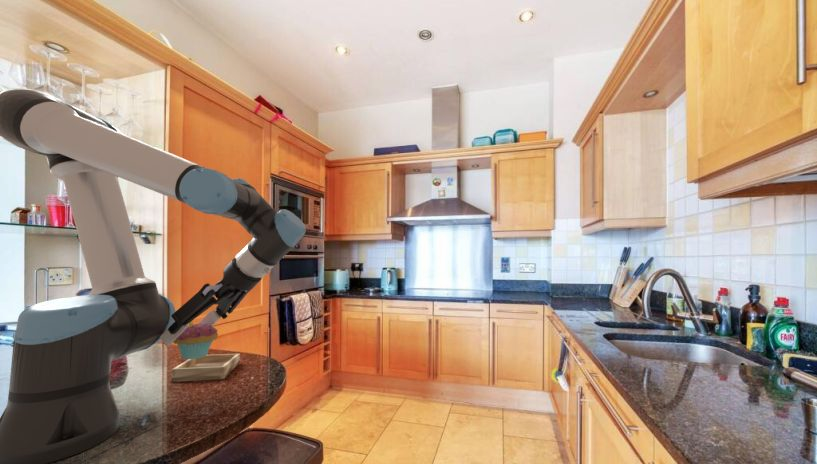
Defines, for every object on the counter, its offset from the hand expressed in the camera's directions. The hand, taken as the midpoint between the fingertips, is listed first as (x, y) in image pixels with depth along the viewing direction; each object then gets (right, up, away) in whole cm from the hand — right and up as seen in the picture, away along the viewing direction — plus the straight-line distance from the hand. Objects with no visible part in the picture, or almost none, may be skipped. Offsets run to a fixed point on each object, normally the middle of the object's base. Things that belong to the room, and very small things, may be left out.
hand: (182, 336), depth 74 cm
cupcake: (+3, -4, -1) cm, 6 cm away
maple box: (-2, -14, +13) cm, 19 cm away
